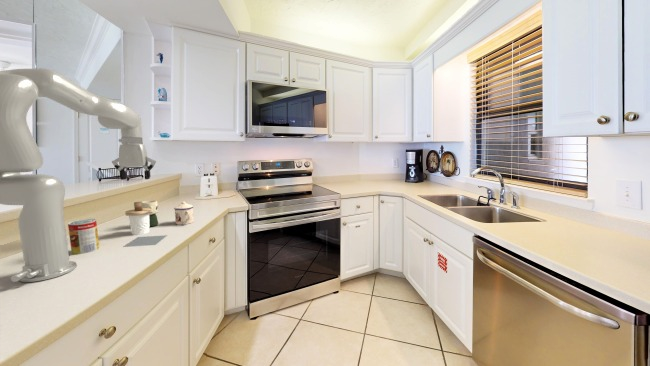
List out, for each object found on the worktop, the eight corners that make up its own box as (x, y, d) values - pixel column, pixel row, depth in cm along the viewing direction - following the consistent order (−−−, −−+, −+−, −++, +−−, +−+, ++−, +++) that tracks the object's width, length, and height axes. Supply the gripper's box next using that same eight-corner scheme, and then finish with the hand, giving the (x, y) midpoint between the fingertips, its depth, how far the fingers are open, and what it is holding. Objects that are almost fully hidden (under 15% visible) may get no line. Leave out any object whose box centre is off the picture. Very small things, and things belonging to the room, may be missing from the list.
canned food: (91, 246, 103) (88, 218, 102) (104, 249, 101) (100, 220, 99) (67, 253, 96) (63, 223, 95) (79, 256, 93) (75, 225, 92)
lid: (145, 215, 115) (144, 204, 114) (120, 216, 113) (119, 205, 112) (155, 210, 124) (154, 199, 124) (132, 211, 122) (131, 200, 122)
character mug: (161, 226, 131) (159, 202, 129) (144, 229, 126) (142, 204, 124) (157, 222, 139) (155, 199, 137) (141, 225, 134) (139, 200, 132)
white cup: (154, 231, 123) (153, 211, 122) (141, 236, 116) (139, 215, 114) (140, 230, 124) (138, 210, 123) (126, 236, 116) (123, 215, 115)
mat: (155, 246, 104) (155, 244, 104) (122, 248, 102) (122, 246, 102) (167, 236, 116) (167, 235, 116) (138, 238, 113) (137, 237, 113)
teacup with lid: (172, 222, 138) (171, 201, 137) (190, 219, 145) (189, 199, 143) (180, 227, 130) (178, 205, 129) (198, 223, 137) (197, 202, 135)
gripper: (105, 141, 109) (109, 180, 111) (149, 141, 113) (152, 179, 115) (115, 141, 116) (119, 178, 118) (157, 142, 120) (160, 178, 122)
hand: (135, 179), depth 116 cm, fingers open, 9 cm apart
